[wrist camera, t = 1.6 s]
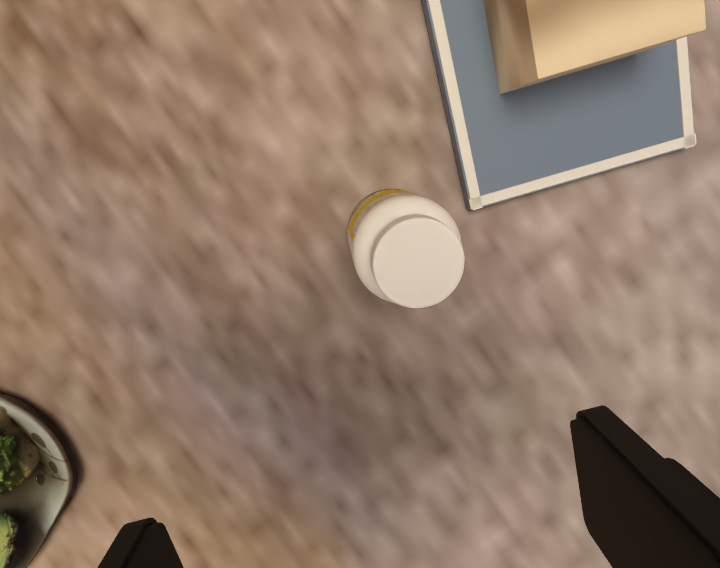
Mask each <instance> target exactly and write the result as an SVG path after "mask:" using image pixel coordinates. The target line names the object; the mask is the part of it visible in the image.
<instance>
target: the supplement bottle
mask: <svg viewBox="0 0 720 568" xmlns="http://www.w3.org/2000/svg"><path fill="white" fill-rule="evenodd" d="M347 237H348V243H349V248H350V252H351V256H352V260H353V263H354V267H355V270H356V272H357V274H358V276H359V278H360V280H361V281H362V283H363V284H364V285H365V286H366V288H367V289H368V290H369V291H371V292H372V293H373V294H374V295H376V296H377V297H379V298H381V299H383V300H385V301H388V302H392V303H396V304H399V305H401V306H404V307H409V308H425V307H429V306H432V305H435V304H437V303H439V302H441V301H442V300H444V299H445V298H447V297H448V296H449V295H450V294H451V293H452V292H453V291H454V290H455V288H456V287H457V285H458V283H459V282H460V279H461V277H462V274H463V270H464V251H463V248H462V243H461V236H460V233H459V230H458V227H457V225H456V223H455V221H454V220H453V218H452V217H451V216H450V214H449V213H448V212H447V211H446V210H445V209H444V208H442V207H441V206H440V205H438V204H437V203H435V202H434V201H432V200H430V199H428V198H425V197H422V196H419V195H416V194H413V193H410V192H407V191H403V190H399V189H385V190H380V191H377V192H374V193H372V194H370V195H368V196H367V197H365V198H364V199H363V200H362V201H361V202H360V203H359V204H358V205H357V206H356V207H355V209H354V211H353V212H352V214H351V217H350V220H349V223H348V230H347Z"/></svg>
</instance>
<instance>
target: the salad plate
mask: <svg viewBox="0 0 720 568" xmlns="http://www.w3.org/2000/svg"><path fill="white" fill-rule="evenodd" d="M36 477H37V480H36ZM77 481H78V471H77V468H76V465H75V461H74V458H73V455H72V452H71V450H70V448H69V446H68V444H67V442H66V440H65V439H64V437H63V436H62V434H61V433H60V432H59V430H58V429H57V428H56V427H55V426H54V425H53V424H52V423H51V422H50V421H49V420H48V419H46V418H45V417H44V416H42V415H41V414H40V413H38V412H37V411H36V410H35V409H34V408H33V407H31V406H30V405H28V404H26V403H25V402H23V401H22V400H20V399H18V398H15V397H13V396H10V395H5V394H1V393H0V568H26V567H27V566H28V565H29V564H30V562H31V561H32V559H33V558H34V556H35V555H36V553H37V552H38V550H39V549H40V548H41V546H42V545H43V544H44V542H45V541H46V538H47V536H48V534H49V532H50V530H51V529H52V527H53V525H54V524H55V522H56V521H57V519H58V517H59V516H60V514H61V513H62V512H63V511H64V509H65V508H66V506H67V505H68V503H69V502H70V500H71V498H72V494H73V492H74V490H75V488H76V485H77Z"/></svg>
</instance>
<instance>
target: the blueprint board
mask: <svg viewBox="0 0 720 568" xmlns="http://www.w3.org/2000/svg"><path fill="white" fill-rule="evenodd" d="M421 2H422V6H423V11H424V16H425V20H426V25H427V29H428V34H429V39H430V43H431V48H432V52H433V57H434V62H435V66H436V71H437V76H438V80H439V85H440V89H441V94H442V99H443V103H444V108H445V113H446V117H447V122H448V126H449V131H450V136H451V140H452V145H453V149H454V154H455V159H456V163H457V168H458V173H459V177H460V182H461V186H462V191H463V196H464V200H465V205H466V209H468V210H476V209H479V208H483V207H485V206H489V205H492V204H496V203H499V202H502V201H506V200H509V199H513V198H516V197H520V196H523V195H526V194H530V193H533V192H537V191H540V190H544V189H547V188H550V187H554V186H557V185H561V184H564V183H568V182H571V181H575V180H578V179H581V178H585V177H588V176H592V175H595V174H599V173H602V172H605V171H609V170H612V169H616V168H619V167H623V166H626V165H630V164H633V163H636V162H640V161H643V160H647V159H650V158H654V157H657V156H660V155H664V154H667V153H671V152H674V151H678V150H681V149H686V148H689V147H692V146H695V144H696V134H694V122H693V108H692V95H691V81H690V68H689V54H688V41H687V36H686V37H683V38H680V39H677V40H674V41H672V42H669V43H666V44H663V45H660V46H657V47H655V48H652V49H649V50H646V51H643V52H640V53H638V54H635V55H631V56H628V57H624V58H621V59H618V60H614V61H611V62H608V63H604V64H601V65H597V66H594V67H591V68H587V69H584V70H581V71H577V72H574V73H570V74H567V75H564V76H560V77H557V78H553V79H550V80H547V81H543V82H540V83H537V84H533V85H530V86H526V87H523V88H520V89H516V90H513V91H509V92H506V93H503V94H500V92H499V86H498V81H497V75H496V70H495V64H494V59H493V54H492V48H491V43H490V37H489V32H488V26H487V21H486V15H485V10H484V4H483V0H421Z"/></svg>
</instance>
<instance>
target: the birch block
mask: <svg viewBox="0 0 720 568" xmlns="http://www.w3.org/2000/svg"><path fill="white" fill-rule="evenodd" d="M483 4H484V10H485V15H486V21H487V26H488V32H489V37H490V43H491V48H492V54H493V59H494V64H495V70H496V75H497V81H498V86H499V92H500V94H503V93H506V92H509V91H513V90H516V89H520V88H523V87H526V86H530V85H533V84H537V83H540V82H543V81H547V80H550V79H553V78H557V77H560V76H564V75H567V74H570V73H574V72H577V71H581V70H584V69H587V68H591V67H594V66H597V65H601V64H604V63H608V62H611V61H614V60H618V59H621V58H624V57H628V56H631V55H635V54H638V53H640V52H643V51H646V50H649V49H652V48H655V47H657V46H660V45H663V44H666V43H669V42H672V41H674V40H677V39H680V38H683V37H686V36H689V35H691V34H694V33H697V32H700V31H703V30H706V24H705V8H704V0H483Z"/></svg>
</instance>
